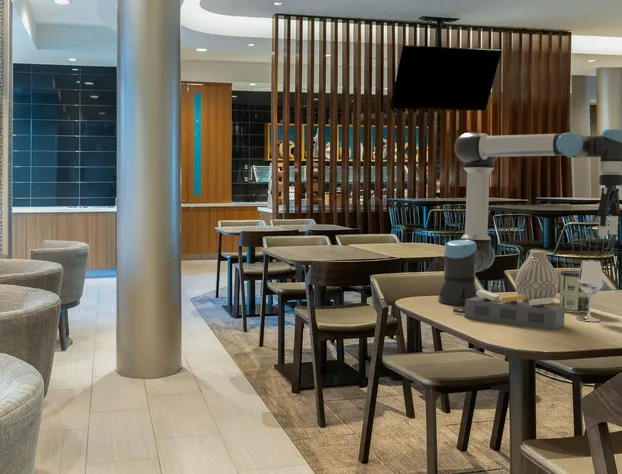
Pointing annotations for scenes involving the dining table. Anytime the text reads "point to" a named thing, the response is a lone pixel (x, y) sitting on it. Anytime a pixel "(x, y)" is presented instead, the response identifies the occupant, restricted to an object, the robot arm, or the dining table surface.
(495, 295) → the block
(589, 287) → the wineglass
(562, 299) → the coffee can
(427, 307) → the dining table surface
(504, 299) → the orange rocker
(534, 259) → the vase
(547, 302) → the block
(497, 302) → the power strip
